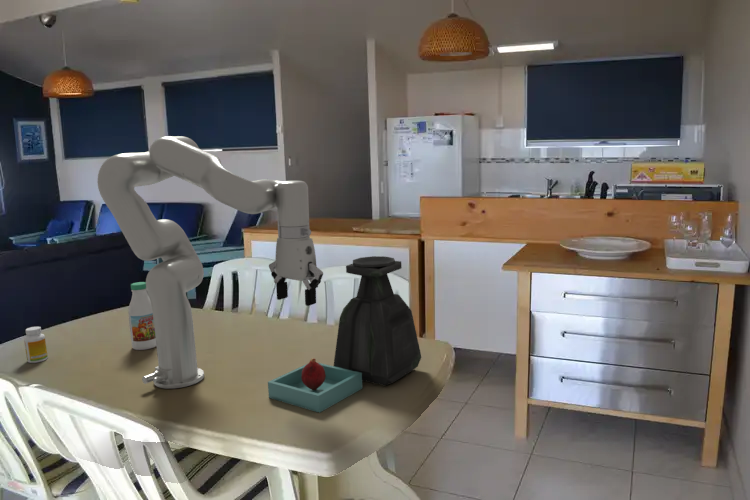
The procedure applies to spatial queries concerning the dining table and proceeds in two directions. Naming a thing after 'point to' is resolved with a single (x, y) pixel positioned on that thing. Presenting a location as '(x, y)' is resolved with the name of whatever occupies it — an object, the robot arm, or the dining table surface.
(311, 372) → the onion
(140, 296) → the milk bottle
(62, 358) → the dining table surface
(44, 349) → the supplement bottle
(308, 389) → the serving dish
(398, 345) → the bottle
